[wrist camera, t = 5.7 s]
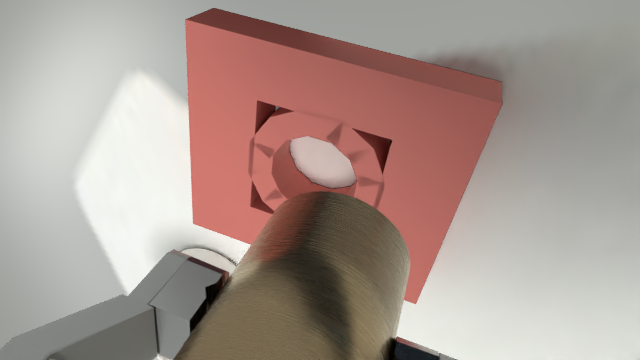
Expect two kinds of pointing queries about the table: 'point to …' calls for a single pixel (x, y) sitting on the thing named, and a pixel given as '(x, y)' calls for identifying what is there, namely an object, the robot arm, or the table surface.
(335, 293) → the tan cylinder plug
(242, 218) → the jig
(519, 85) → the table surface
